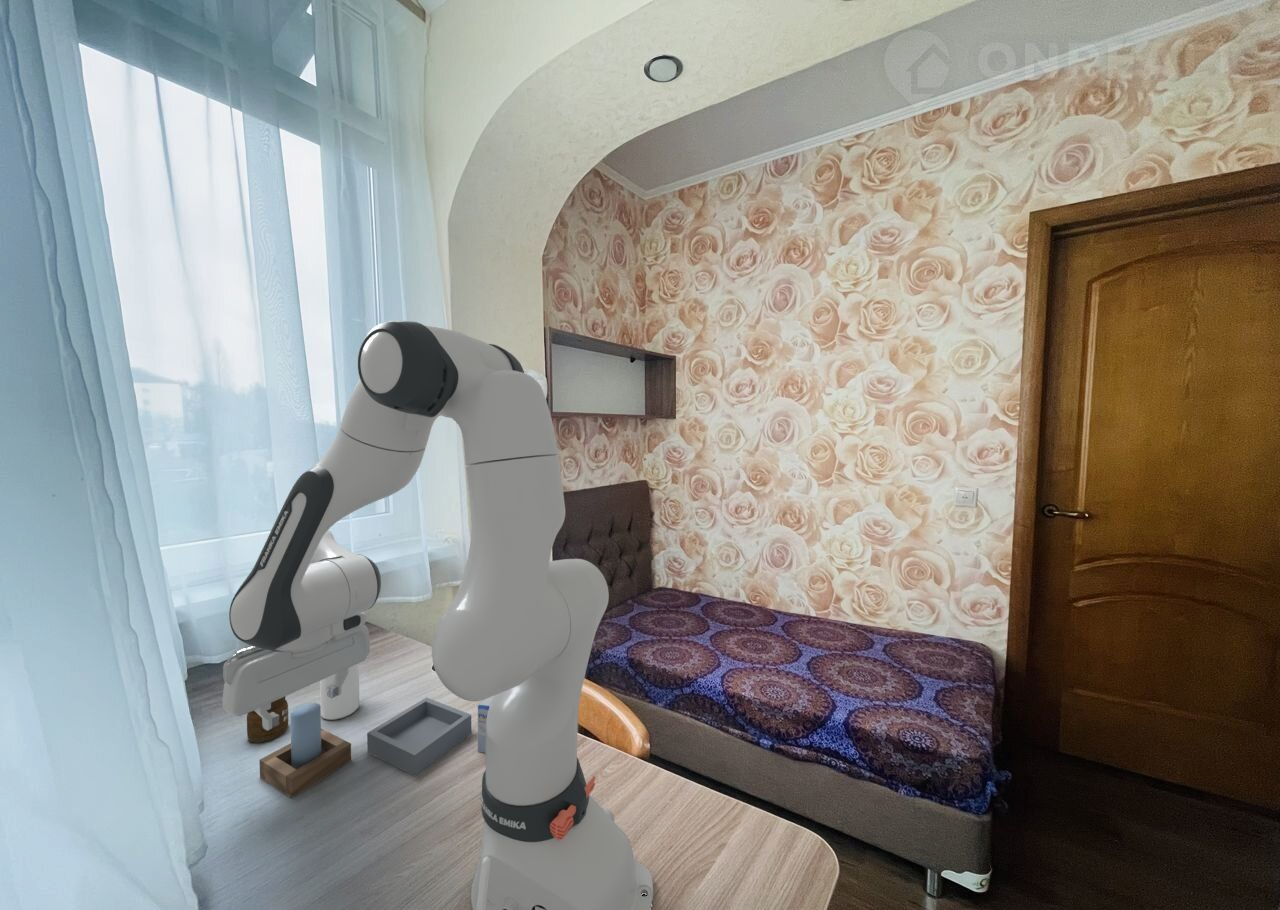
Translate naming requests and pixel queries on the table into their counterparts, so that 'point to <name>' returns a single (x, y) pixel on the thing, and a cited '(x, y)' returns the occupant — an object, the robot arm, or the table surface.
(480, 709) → the medicine box
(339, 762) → the collar
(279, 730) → the utensil holder
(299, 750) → the dowel
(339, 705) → the can
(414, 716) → the tray
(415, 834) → the table surface
